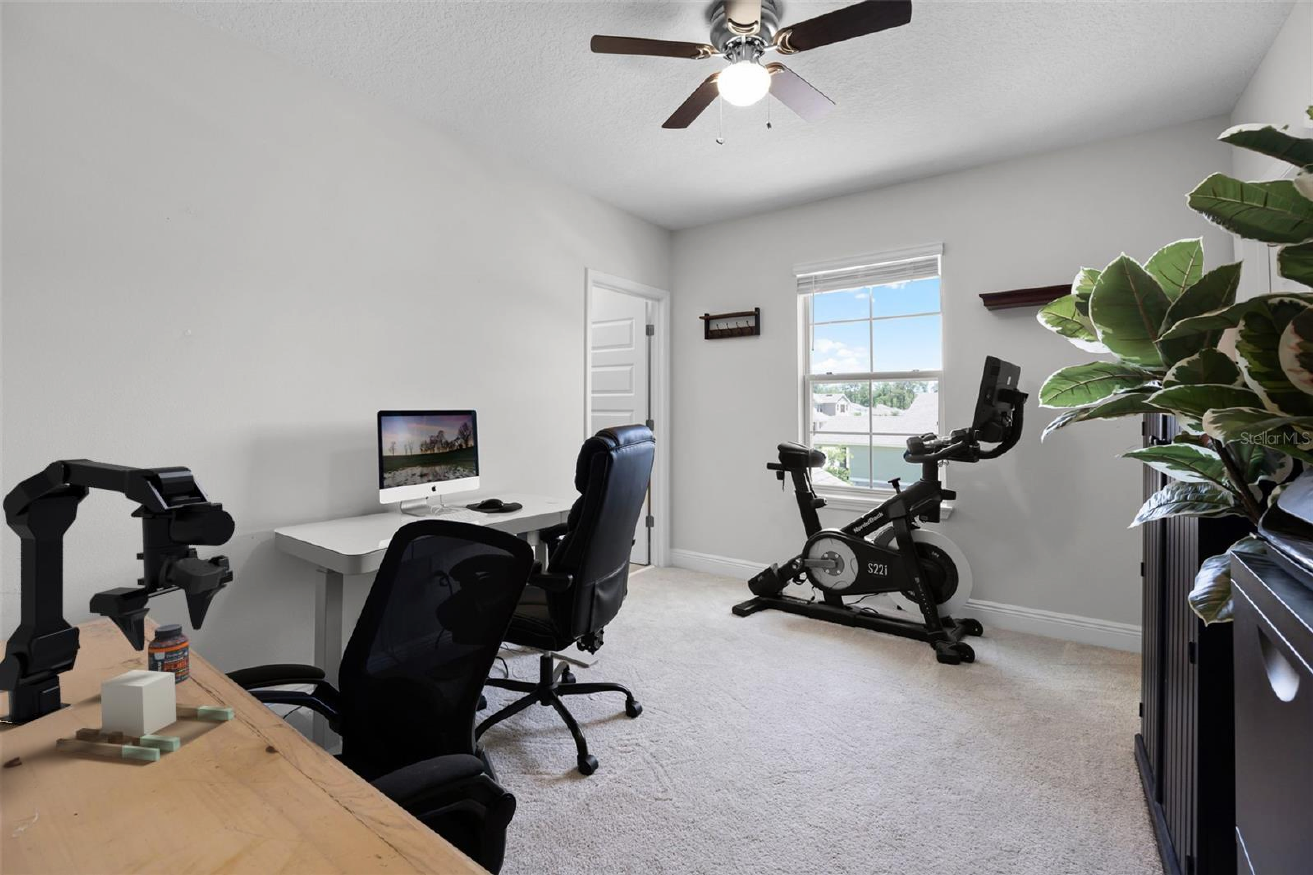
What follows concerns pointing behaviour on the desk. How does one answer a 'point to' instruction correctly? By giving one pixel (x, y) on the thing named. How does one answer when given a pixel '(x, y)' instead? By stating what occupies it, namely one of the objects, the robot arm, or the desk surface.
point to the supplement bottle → (169, 652)
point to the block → (138, 702)
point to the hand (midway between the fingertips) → (169, 639)
